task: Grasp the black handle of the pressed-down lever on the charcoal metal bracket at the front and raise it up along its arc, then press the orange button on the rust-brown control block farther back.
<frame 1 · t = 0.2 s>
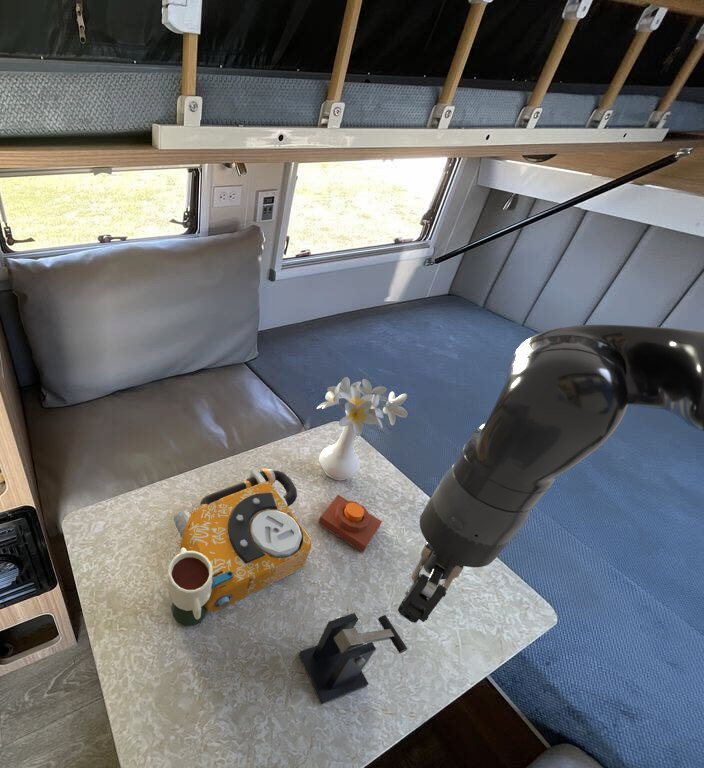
hand: (418, 589, 51), 23 cm above the table, tool pointing down, fingers open, 8 cm apart
control block: (348, 525, 86), on the table
character mug: (189, 610, 71), on the table, touching device
button: (353, 512, 83), point 4 cm above the table, slide at 0.1 cm
flower vase: (337, 469, 98), on the table
bracket: (331, 670, 64), on the table
lever: (369, 637, 60), point 9 cm above the table, hinge at -25.0°
device: (245, 539, 83), on the table, touching character mug
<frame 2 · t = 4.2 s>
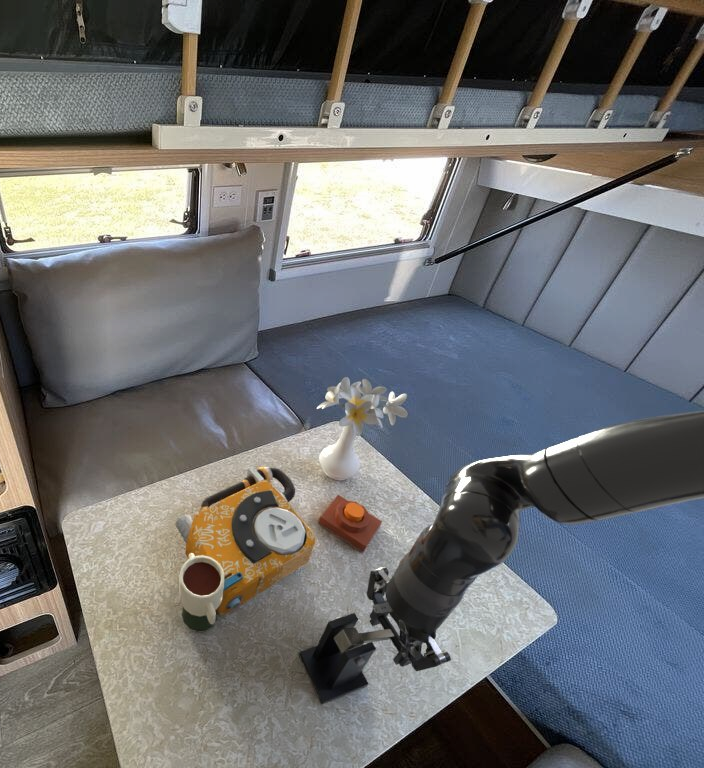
hand: (387, 640, 64), 4 cm above the table, tool pointing down, fingers closed on lever, 5 cm apart
character mug: (199, 615, 71), on the table, touching device
lever: (369, 637, 60), point 9 cm above the table, hinge at -25.0°, touching gripper
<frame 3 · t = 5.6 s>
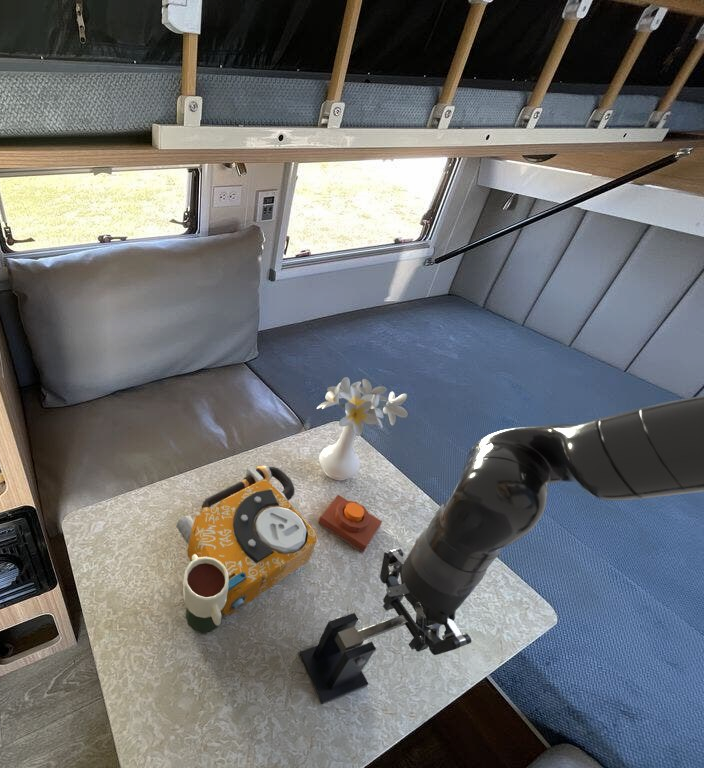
hand: (401, 625, 61), 9 cm above the table, tool pointing down, fingers closed on lever, 5 cm apart
character mug: (203, 616, 71), on the table, touching device
lever: (376, 630, 59), point 11 cm above the table, hinge at 1.1°, touching gripper
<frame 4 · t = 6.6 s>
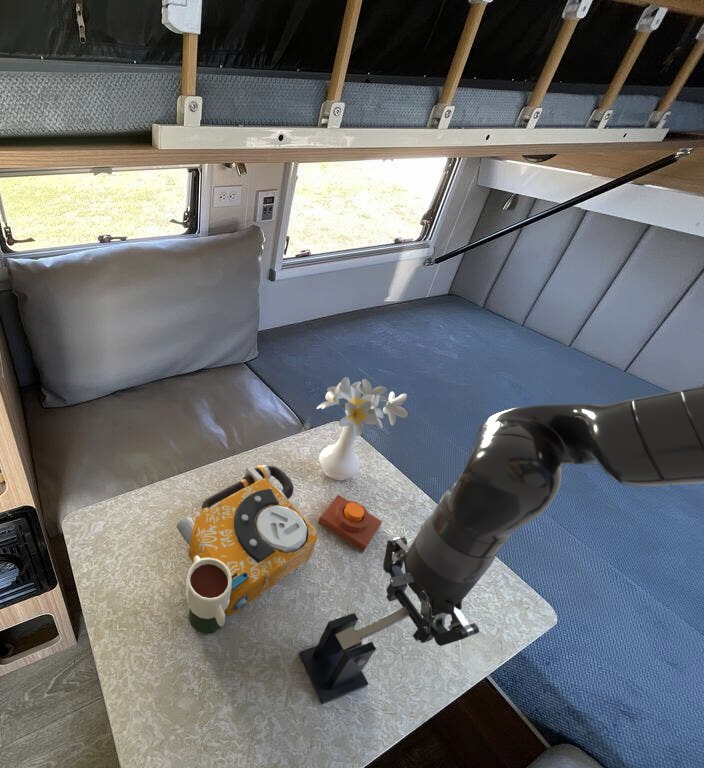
hand: (405, 616, 59), 12 cm above the table, tool pointing down, fingers closed on lever, 5 cm apart
character mug: (206, 617, 70), on the table, touching device
lever: (377, 625, 58), point 13 cm above the table, hinge at 19.7°, touching gripper
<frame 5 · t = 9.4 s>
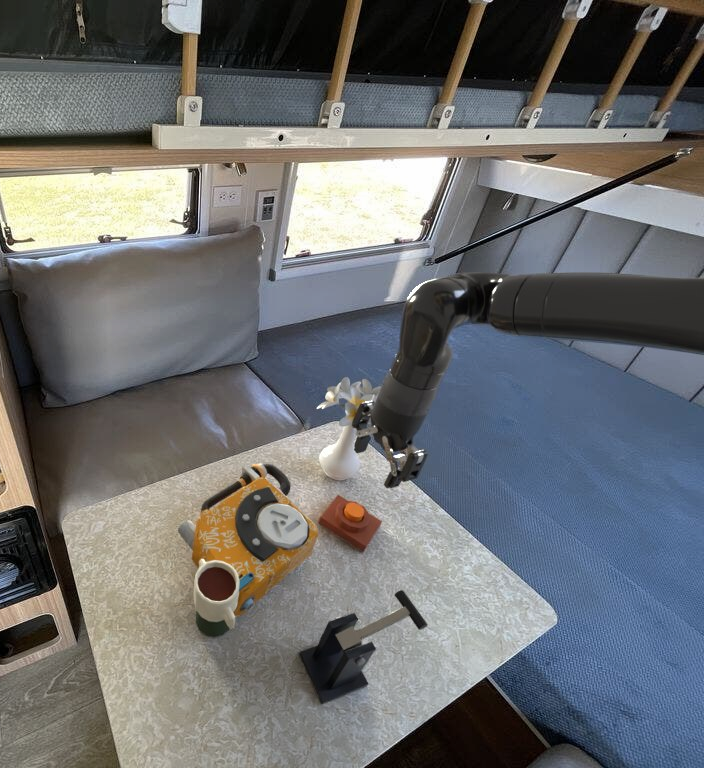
hand: (373, 467, 73), 19 cm above the table, tool pointing down, fingers open, 8 cm apart
character mug: (213, 620, 70), on the table, touching device
lever: (377, 625, 58), point 13 cm above the table, hinge at 20.2°
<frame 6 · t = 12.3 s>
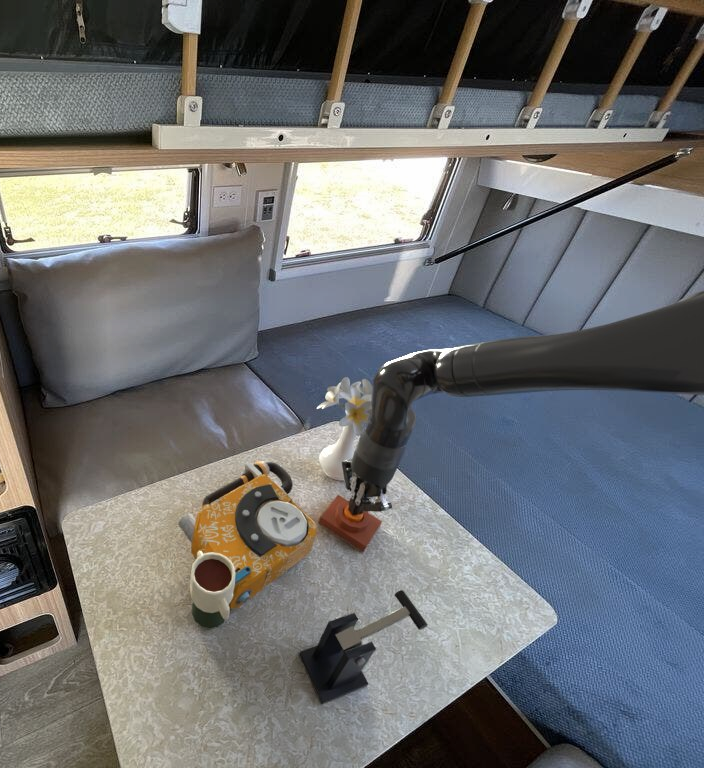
hand: (354, 511, 83), 5 cm above the table, tool pointing down, fingers closed
character mug: (209, 612, 71), on the table, touching device
button: (353, 514, 83), point 4 cm above the table, slide at -0.6 cm, touching gripper
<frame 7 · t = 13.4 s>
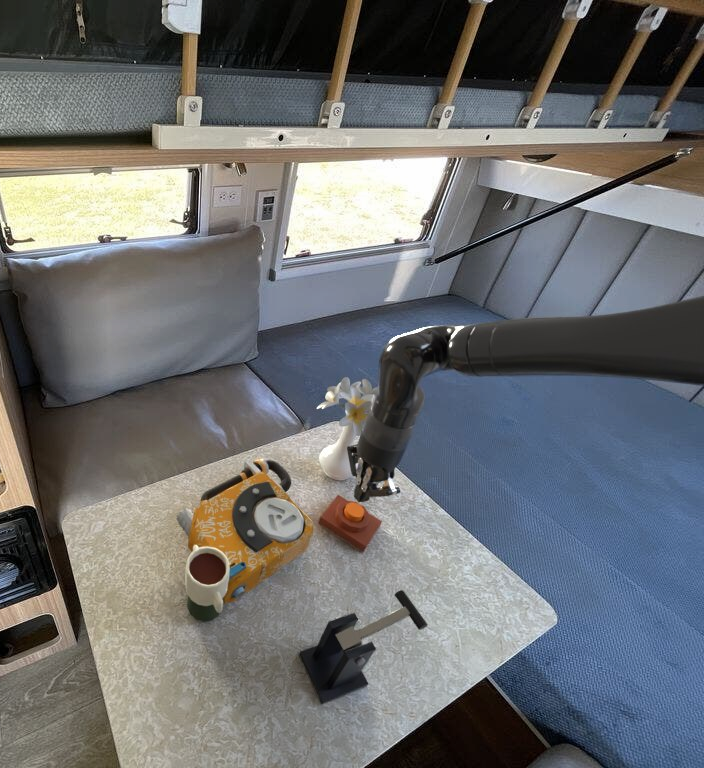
hand: (360, 498, 80), 9 cm above the table, tool pointing down, fingers closed
character mug: (204, 606, 72), on the table, touching device
button: (353, 512, 83), point 4 cm above the table, slide at 0.1 cm
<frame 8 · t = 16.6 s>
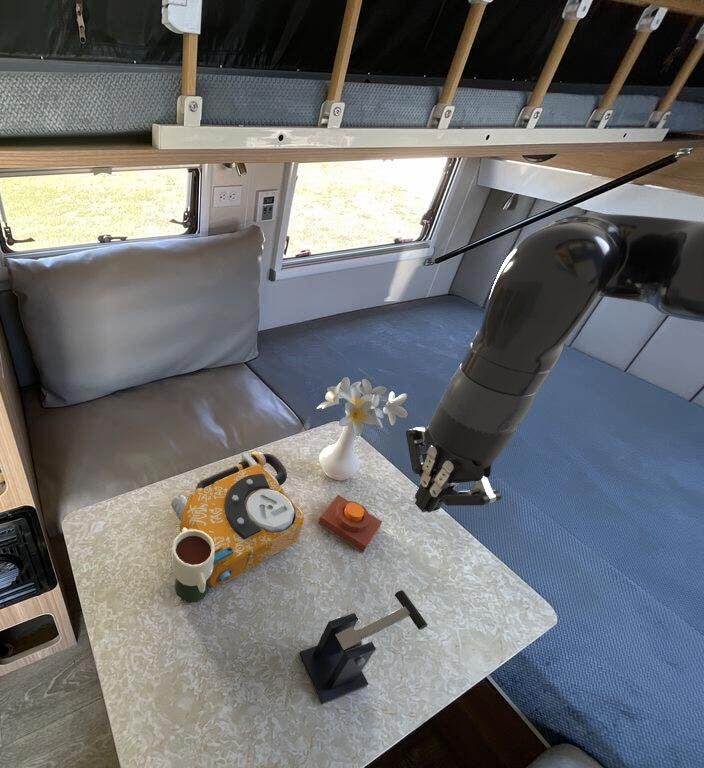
hand: (423, 506, 55), 29 cm above the table, tool pointing down, fingers closed
character mug: (191, 588, 74), on the table, touching device
device: (240, 519, 87), on the table, touching character mug
everything else where it was.
at the end: lever at +20° (first picture: -25°); button pushed in 1.1 cm at the most during the clip, back to where it started at the end; button slide at 0.1 cm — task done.
